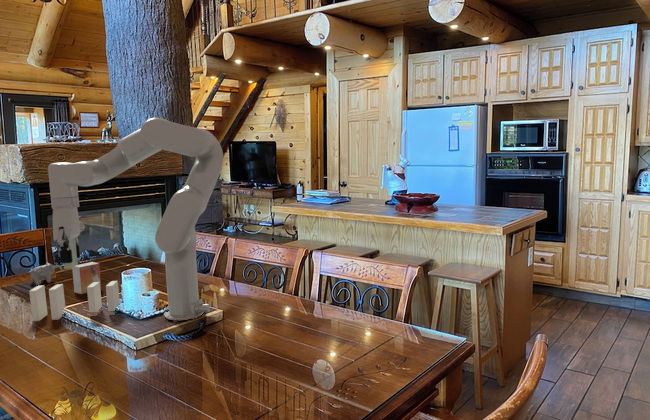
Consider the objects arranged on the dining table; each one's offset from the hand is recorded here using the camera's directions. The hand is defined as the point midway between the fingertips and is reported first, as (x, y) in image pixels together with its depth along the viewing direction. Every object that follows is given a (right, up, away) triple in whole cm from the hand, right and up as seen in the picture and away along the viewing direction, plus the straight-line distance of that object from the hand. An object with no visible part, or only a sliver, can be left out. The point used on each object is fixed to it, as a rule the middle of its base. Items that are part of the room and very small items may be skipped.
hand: (70, 259), depth 153 cm
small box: (-12, -16, +36) cm, 41 cm away
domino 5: (+10, -18, +9) cm, 23 cm away
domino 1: (-13, -20, +7) cm, 25 cm away
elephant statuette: (-37, -15, +52) cm, 65 cm away
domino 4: (+4, -19, +9) cm, 21 cm away
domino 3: (0, -2, 0) cm, 2 cm away
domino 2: (-8, -19, +7) cm, 22 cm away
